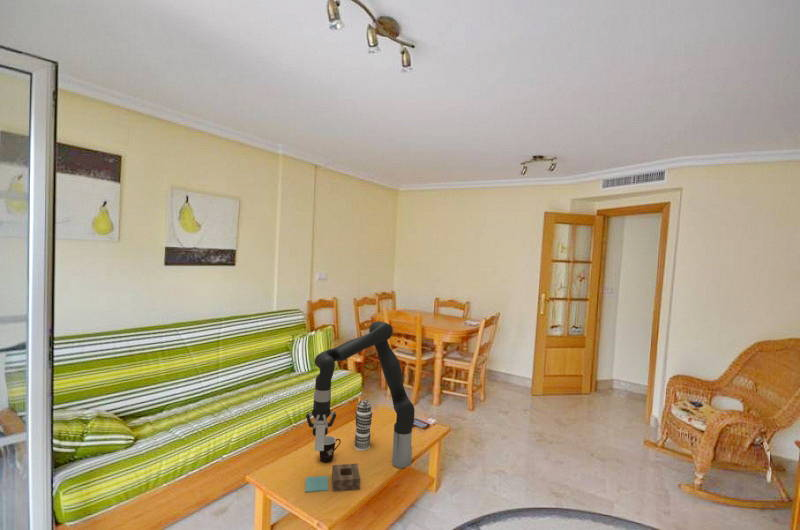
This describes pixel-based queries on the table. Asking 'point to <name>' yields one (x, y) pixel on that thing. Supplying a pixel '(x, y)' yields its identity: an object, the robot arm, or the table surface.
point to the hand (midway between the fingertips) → (319, 435)
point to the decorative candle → (363, 425)
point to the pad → (316, 484)
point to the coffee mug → (328, 449)
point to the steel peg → (320, 436)
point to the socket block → (345, 477)
